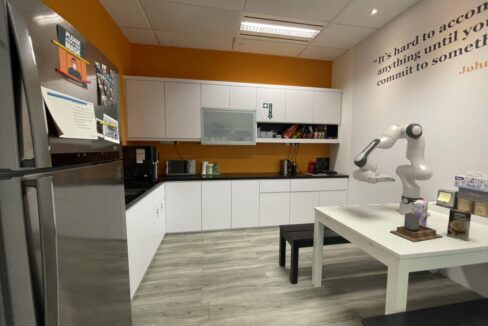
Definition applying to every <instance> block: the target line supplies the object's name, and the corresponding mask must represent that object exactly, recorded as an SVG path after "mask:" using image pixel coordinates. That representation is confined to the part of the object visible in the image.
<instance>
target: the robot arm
mask: <svg viewBox="0 0 488 326" xmlns="http://www.w3.org/2000/svg"><path fill="white" fill-rule="evenodd" d="M399 139H403V140H404V139H406V141H407V143H406V151H405V158H406V159H407V160H408V161H409V162H410V164H401V165H400V164H399V165H398V166H397V167H396V168H395V175H396V176H398V178H399V179H400V181H401V185H402V193H401V199H400V201H399V206H398V209H397V210H398V213H399V214H400V215H404V216H405V213H410V212H413V203H414V202H416V201H418V200H422V201H425V199H424V197H422V196H421V190H422V189H421V186H419V185H418V184H417V182H416V181H429V180H431V178H432V176H433V173H434V172H433V170H432V169H431V168H430V167H429V165H427V163H426V159H425V148H426V140H425V136H424V134H423V127H422V126H421V125H420V124H418V123H406V124H401V125H390V126H389V127H387V128H386V129H385V130H384V131H383V133H382V134H381V135H380V136H379V137H378V138H374V139H373V140H372V141H370V143H369V144H367V146H366V147H365V148H364V149H363V150H362V151H361V152H360V153H358V154H357V155H356V156H355V157H354V160H353V164H354V165H355V166H356V167H358V169H355V170H354V171H352V172H353V173H352V177H353V179H354V180H355V181H359V182H363V183H369V184H372V185H373V184H374V185H375V184H377V183H386V182H387V183H388V182H396V181H397V180H396V178H394V176H392V175H388V174H384V173H381V172H377V171H376V170H377V169H378V165H377V164H376V163H375V162H374V161H373V160H371V159H370V158H369V156H370V155H371V154H372V153H373V152H374V151H375V150H376V149H381V150H389V149H392V147H393V146H395V144H396V143H397V141H398V140H399ZM429 216H431V213H429V212H427V217H429Z"/></svg>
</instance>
